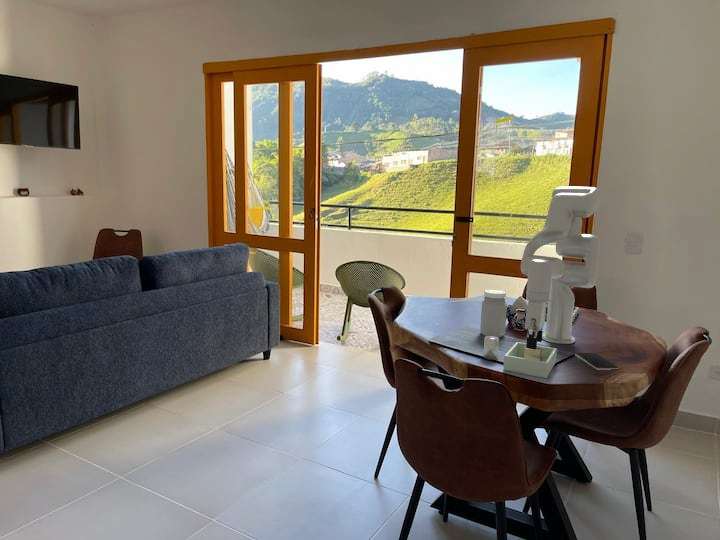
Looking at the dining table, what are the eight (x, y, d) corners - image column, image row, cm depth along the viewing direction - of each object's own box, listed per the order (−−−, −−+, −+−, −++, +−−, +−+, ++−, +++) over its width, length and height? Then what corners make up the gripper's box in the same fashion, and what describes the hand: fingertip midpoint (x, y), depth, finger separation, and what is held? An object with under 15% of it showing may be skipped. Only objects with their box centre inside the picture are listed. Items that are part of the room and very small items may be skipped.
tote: (515, 355, 187) (516, 341, 186) (555, 362, 180) (556, 348, 180) (503, 370, 172) (504, 355, 171) (546, 378, 165) (547, 363, 164)
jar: (505, 339, 206) (508, 294, 203) (480, 337, 208) (483, 293, 205) (503, 332, 216) (506, 289, 213) (479, 330, 218) (482, 288, 215)
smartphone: (597, 368, 174) (574, 353, 189) (596, 371, 174) (574, 356, 189) (619, 367, 175) (595, 352, 189) (619, 371, 175) (595, 356, 190)
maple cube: (526, 358, 183) (528, 344, 182) (541, 361, 180) (542, 347, 179) (523, 362, 178) (524, 348, 178) (538, 365, 176) (539, 351, 175)
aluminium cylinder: (485, 353, 188) (486, 335, 187) (499, 356, 185) (500, 337, 184) (481, 357, 183) (482, 338, 182) (495, 360, 181) (497, 341, 180)
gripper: (531, 290, 185) (528, 336, 188) (521, 299, 170) (517, 349, 173) (554, 292, 181) (550, 340, 184) (545, 302, 166) (540, 353, 169)
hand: (534, 344), depth 178 cm, fingers open, 9 cm apart
